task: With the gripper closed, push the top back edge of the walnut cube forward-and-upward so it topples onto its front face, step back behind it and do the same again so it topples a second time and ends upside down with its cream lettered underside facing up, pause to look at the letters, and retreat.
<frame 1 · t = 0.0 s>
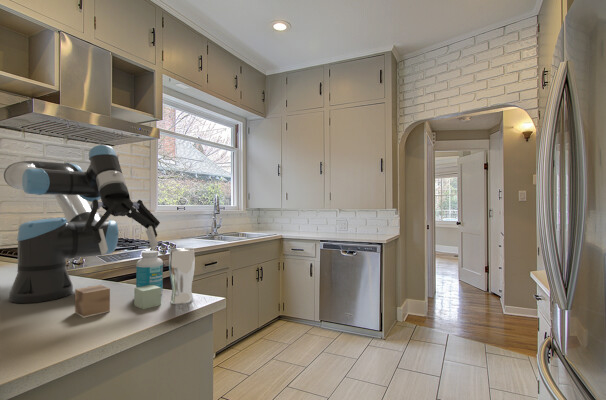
hand: (131, 249, 94), 15 cm above the counter, tool tilted 35°, fingers open, 13 cm apart
walnut block: (92, 312, 87), on the counter
sage block: (147, 305, 94), on the counter
beer glass: (181, 302, 97), on the counter
pill bottle: (149, 296, 103), on the counter
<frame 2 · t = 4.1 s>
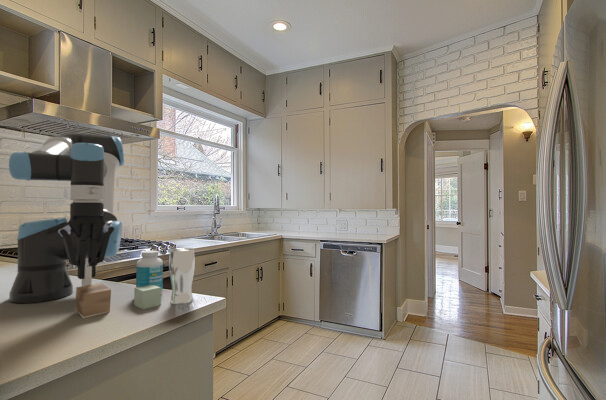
hand: (86, 290, 90), 5 cm above the counter, tool pointing down, fingers closed
walnut block: (92, 311, 87), on the counter, tilted 7°, touching gripper
everything else where it was.
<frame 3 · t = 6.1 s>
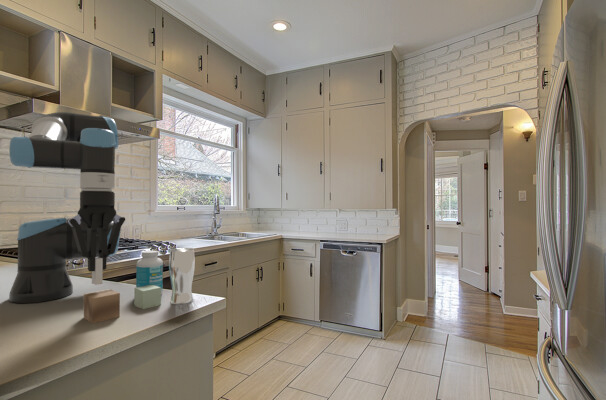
hand: (97, 283, 85), 8 cm above the counter, tool pointing down, fingers closed
walnut block: (97, 303, 86), point 3 cm above the counter, tilted 90°
everything else where it was.
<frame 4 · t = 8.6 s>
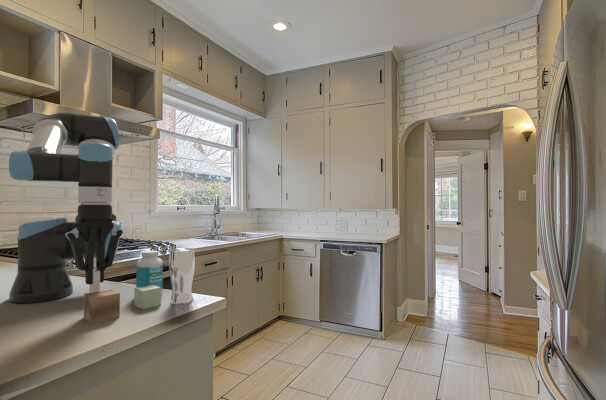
hand: (94, 295, 86), 5 cm above the counter, tool pointing down, fingers closed
walnut block: (97, 303, 85), point 3 cm above the counter, tilted 90°, touching gripper
everything else where it was.
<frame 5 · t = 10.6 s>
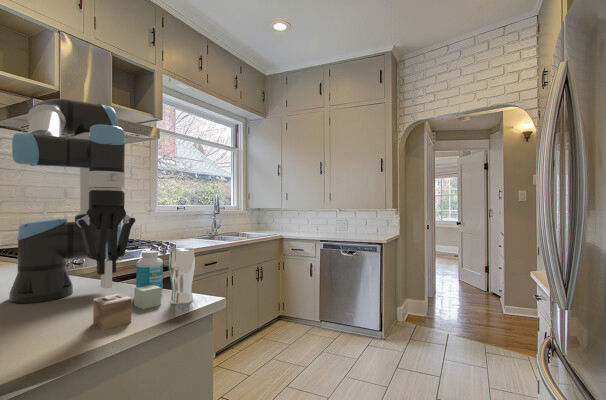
hand: (106, 287, 82), 8 cm above the counter, tool pointing down, fingers closed
walnut block: (112, 298, 80), point 6 cm above the counter, tilted 180°
everything else where it was.
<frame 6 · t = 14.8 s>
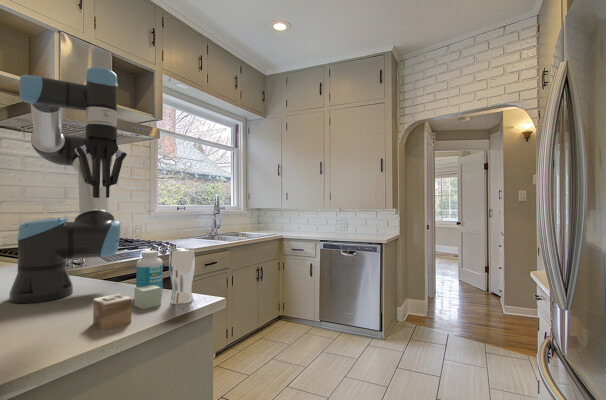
hand: (101, 209, 94), 26 cm above the counter, tool pointing down, fingers closed
nothing on the counter moved.
at the end: walnut block tilted 180°; walnut block inside the target area (1.9 cm from its centre), point 5.9 cm above the counter; walnut block touching counter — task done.
